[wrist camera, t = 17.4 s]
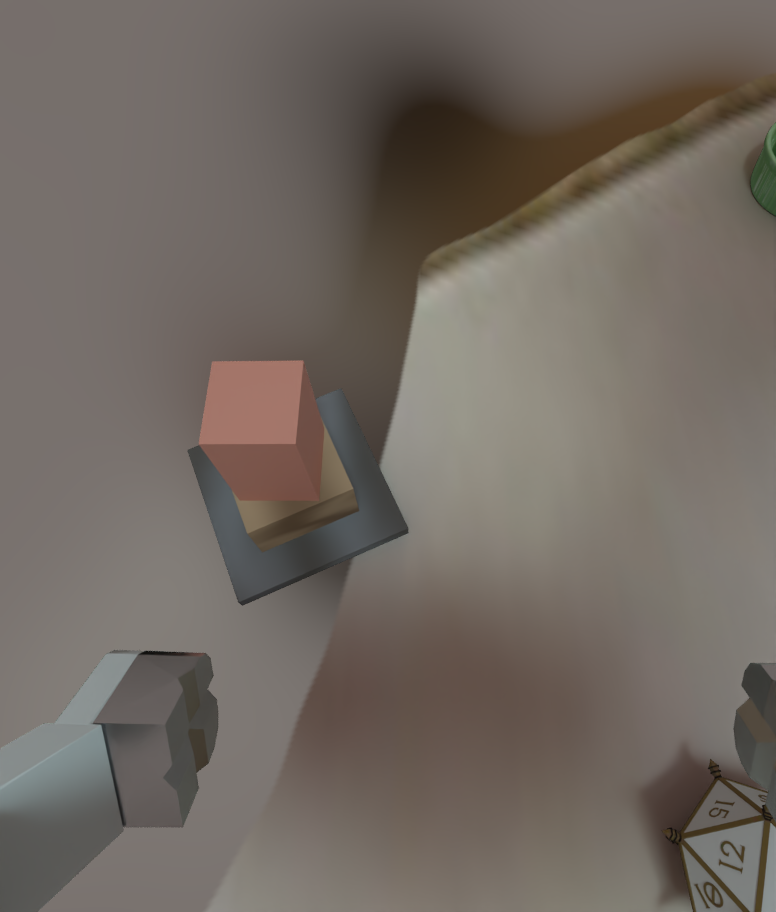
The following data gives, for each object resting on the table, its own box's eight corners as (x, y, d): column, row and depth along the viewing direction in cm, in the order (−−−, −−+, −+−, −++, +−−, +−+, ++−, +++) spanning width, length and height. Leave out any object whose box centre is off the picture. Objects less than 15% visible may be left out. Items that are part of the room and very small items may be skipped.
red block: (324, 428, 42) (303, 360, 35) (319, 500, 40) (295, 443, 32) (248, 429, 42) (212, 361, 35) (239, 500, 40) (198, 444, 33)
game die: (731, 845, 38) (939, 917, 30) (660, 965, 34) (883, 1091, 25) (672, 716, 38) (870, 755, 29) (591, 822, 33) (799, 903, 25)
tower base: (342, 395, 49) (334, 358, 44) (408, 532, 44) (406, 507, 39) (191, 456, 47) (167, 424, 43) (242, 605, 42) (220, 587, 38)
